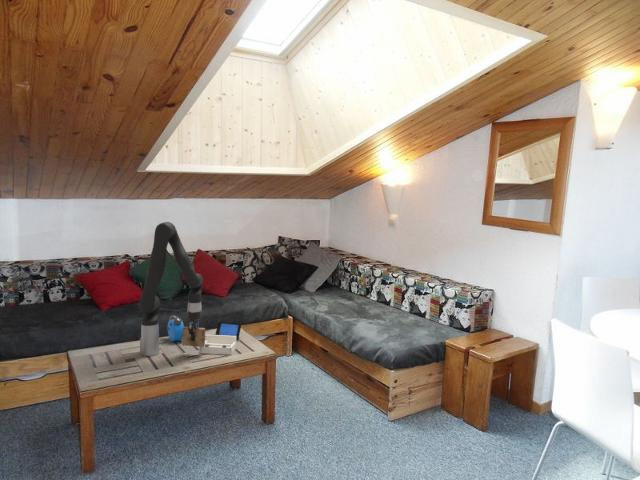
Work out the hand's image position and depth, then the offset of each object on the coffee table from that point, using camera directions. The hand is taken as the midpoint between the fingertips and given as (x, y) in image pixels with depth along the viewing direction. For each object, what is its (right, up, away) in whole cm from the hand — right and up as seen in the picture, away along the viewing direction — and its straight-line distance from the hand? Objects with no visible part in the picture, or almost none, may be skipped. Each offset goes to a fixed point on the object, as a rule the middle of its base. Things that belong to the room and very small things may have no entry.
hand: (193, 339), depth 267 cm
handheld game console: (+12, -6, +28) cm, 31 cm away
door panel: (0, -3, 0) cm, 3 cm away
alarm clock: (-17, -6, +24) cm, 30 cm away
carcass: (+12, -8, +9) cm, 17 cm away
